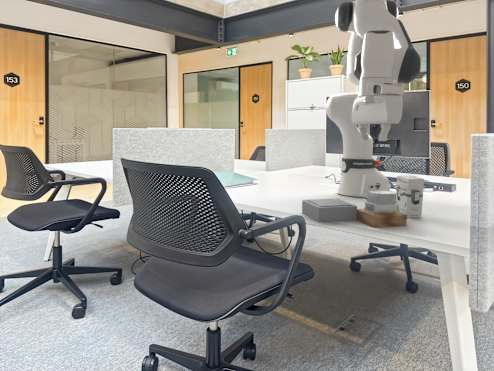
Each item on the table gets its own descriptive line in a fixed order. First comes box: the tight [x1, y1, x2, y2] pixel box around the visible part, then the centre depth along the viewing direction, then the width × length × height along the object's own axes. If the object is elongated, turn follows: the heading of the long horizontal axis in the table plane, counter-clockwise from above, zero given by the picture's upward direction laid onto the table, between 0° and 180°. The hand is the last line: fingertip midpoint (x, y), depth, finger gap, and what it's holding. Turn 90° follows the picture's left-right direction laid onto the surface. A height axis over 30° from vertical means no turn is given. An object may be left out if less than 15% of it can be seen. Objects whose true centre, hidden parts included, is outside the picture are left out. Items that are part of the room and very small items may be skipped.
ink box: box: [395, 174, 425, 219], centre depth 125 cm, size 9×5×12 cm, turn 4°
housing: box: [364, 191, 397, 214], centre depth 115 cm, size 7×5×6 cm
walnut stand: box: [356, 207, 408, 228], centre depth 116 cm, size 10×10×3 cm
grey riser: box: [301, 198, 358, 223], centre depth 122 cm, size 12×12×4 cm
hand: (373, 140), depth 115 cm, fingers open, 8 cm apart
